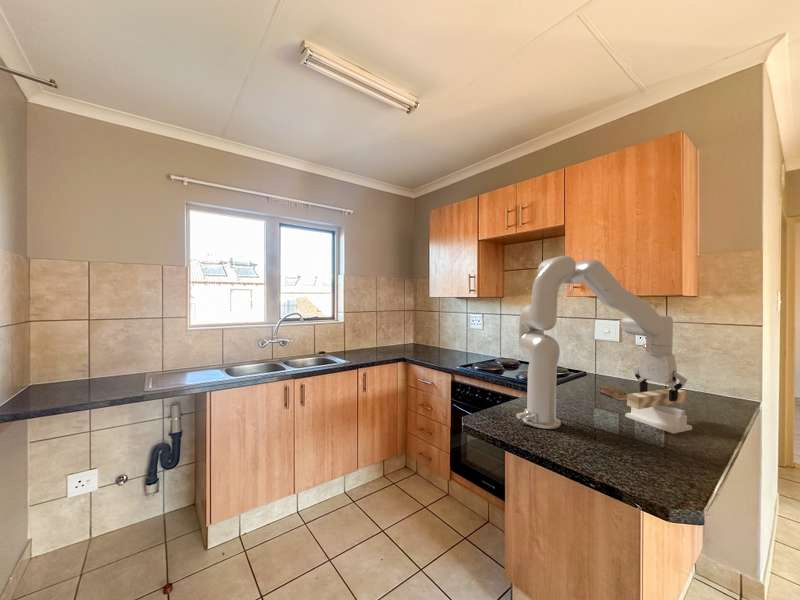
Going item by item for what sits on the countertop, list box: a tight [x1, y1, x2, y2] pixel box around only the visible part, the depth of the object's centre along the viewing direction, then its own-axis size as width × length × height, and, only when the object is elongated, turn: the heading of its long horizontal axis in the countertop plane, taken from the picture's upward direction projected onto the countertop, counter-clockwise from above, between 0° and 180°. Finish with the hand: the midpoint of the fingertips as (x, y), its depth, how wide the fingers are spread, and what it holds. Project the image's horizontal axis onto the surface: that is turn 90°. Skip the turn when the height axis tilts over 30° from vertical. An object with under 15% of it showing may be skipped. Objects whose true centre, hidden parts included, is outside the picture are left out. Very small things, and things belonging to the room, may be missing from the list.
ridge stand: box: [624, 405, 693, 434], centre depth 118 cm, size 10×16×7 cm, turn 20°
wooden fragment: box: [599, 385, 627, 402], centre depth 155 cm, size 26×11×1 cm, turn 161°
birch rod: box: [626, 388, 688, 409], centre depth 118 cm, size 26×4×4 cm, turn 111°
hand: (657, 396), depth 118 cm, fingers open, 9 cm apart
